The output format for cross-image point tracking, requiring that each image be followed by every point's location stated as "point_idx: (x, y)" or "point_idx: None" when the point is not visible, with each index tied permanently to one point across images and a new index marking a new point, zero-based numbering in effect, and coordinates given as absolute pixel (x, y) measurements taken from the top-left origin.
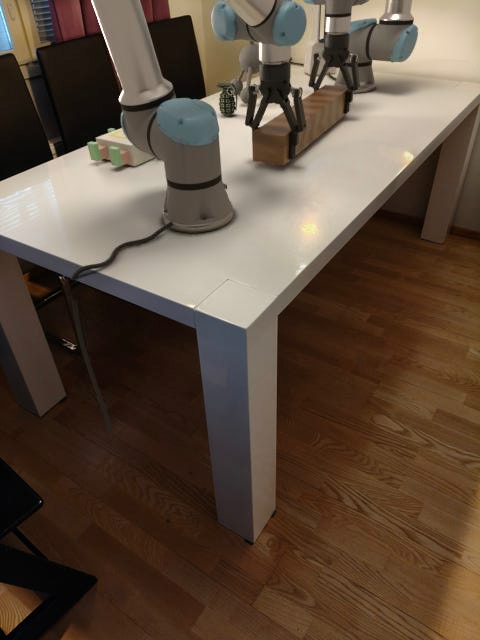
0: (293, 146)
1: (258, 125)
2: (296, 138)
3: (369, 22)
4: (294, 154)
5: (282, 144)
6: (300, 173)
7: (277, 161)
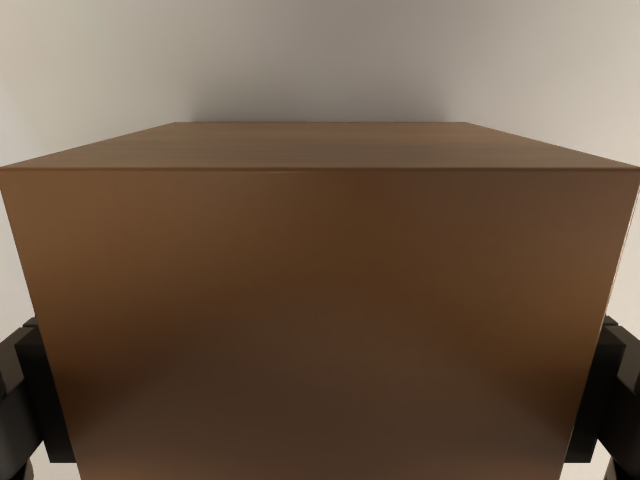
0: None
1: (614, 464)
2: (11, 339)
3: None
4: None
5: (99, 148)
6: (62, 134)
7: (225, 125)
